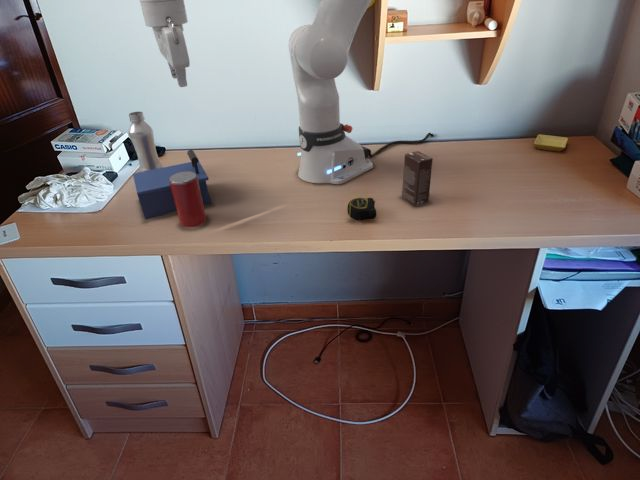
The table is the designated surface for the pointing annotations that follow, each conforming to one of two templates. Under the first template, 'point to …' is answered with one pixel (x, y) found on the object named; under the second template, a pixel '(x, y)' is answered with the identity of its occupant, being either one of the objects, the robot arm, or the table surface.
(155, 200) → the box
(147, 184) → the lid
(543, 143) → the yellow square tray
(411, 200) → the box
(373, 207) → the tape measure
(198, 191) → the can
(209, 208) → the table surface
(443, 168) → the table surface
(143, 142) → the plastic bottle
